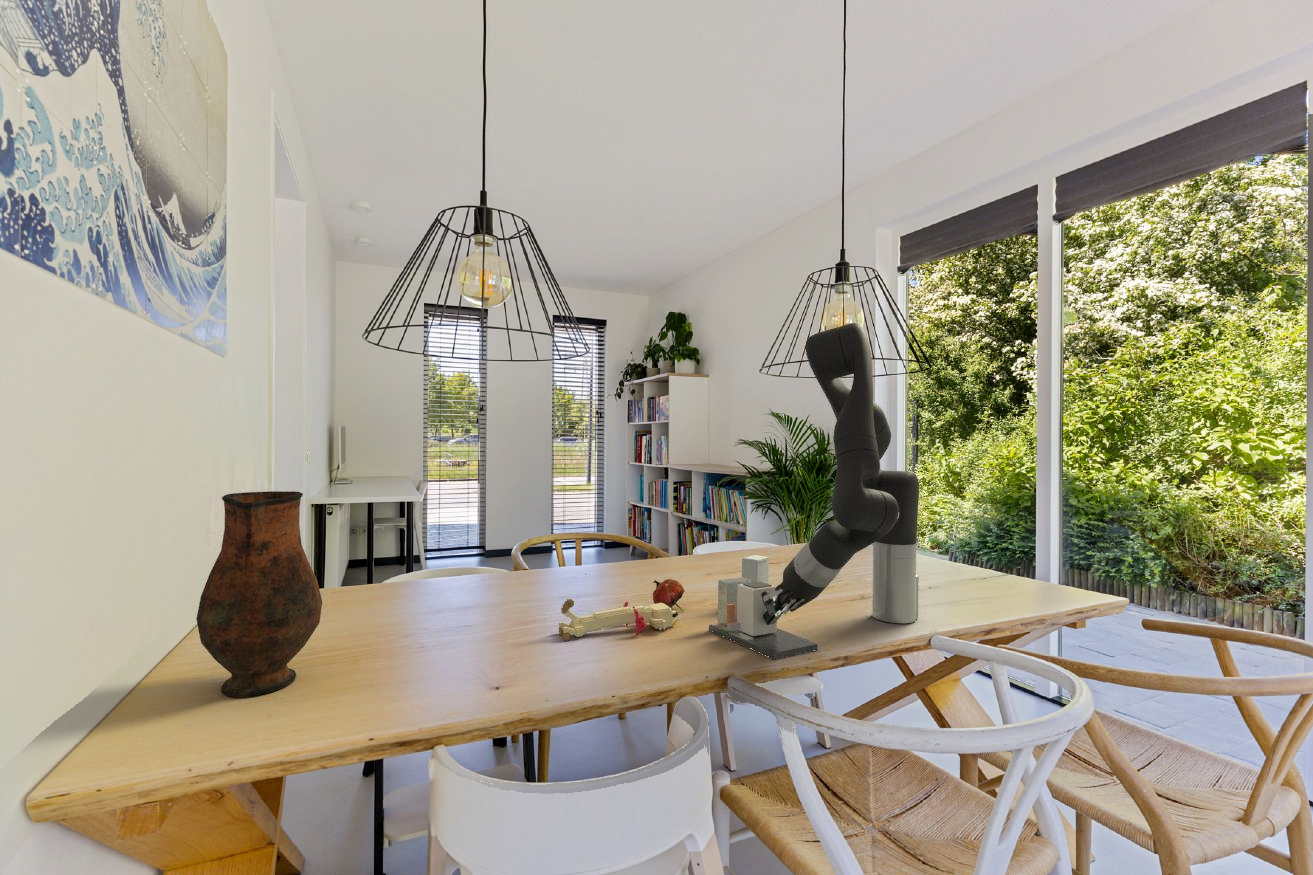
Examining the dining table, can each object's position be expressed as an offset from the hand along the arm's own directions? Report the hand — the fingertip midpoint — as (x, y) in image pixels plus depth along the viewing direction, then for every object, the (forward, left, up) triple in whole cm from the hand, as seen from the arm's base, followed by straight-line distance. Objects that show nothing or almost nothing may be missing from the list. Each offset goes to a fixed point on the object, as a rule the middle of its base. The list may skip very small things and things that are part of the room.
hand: (767, 620), depth 123 cm
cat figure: (+22, -20, -5) cm, 30 cm away
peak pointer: (+4, -6, -3) cm, 8 cm away
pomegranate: (+4, -30, -5) cm, 30 cm away
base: (0, -2, -4) cm, 5 cm away
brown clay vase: (+84, -24, -4) cm, 88 cm away
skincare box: (-15, -22, -5) cm, 27 cm away
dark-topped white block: (+1, -3, -3) cm, 4 cm away
